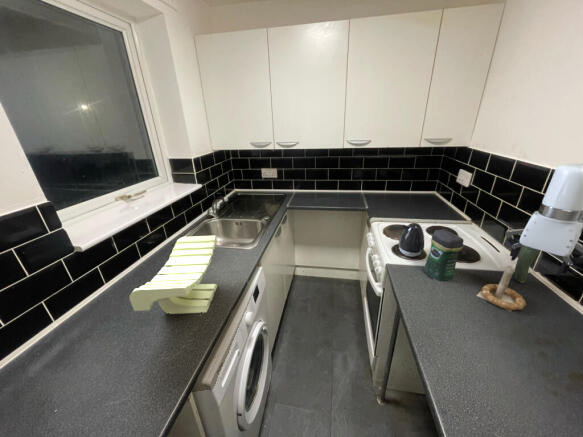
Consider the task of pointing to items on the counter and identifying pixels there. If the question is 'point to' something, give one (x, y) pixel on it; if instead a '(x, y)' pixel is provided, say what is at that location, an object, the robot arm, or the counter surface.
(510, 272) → the post
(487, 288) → the ring
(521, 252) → the vegetable
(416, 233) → the black egg shaped dome
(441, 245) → the coffee jar
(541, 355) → the counter surface
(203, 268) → the slatted lounge chair
